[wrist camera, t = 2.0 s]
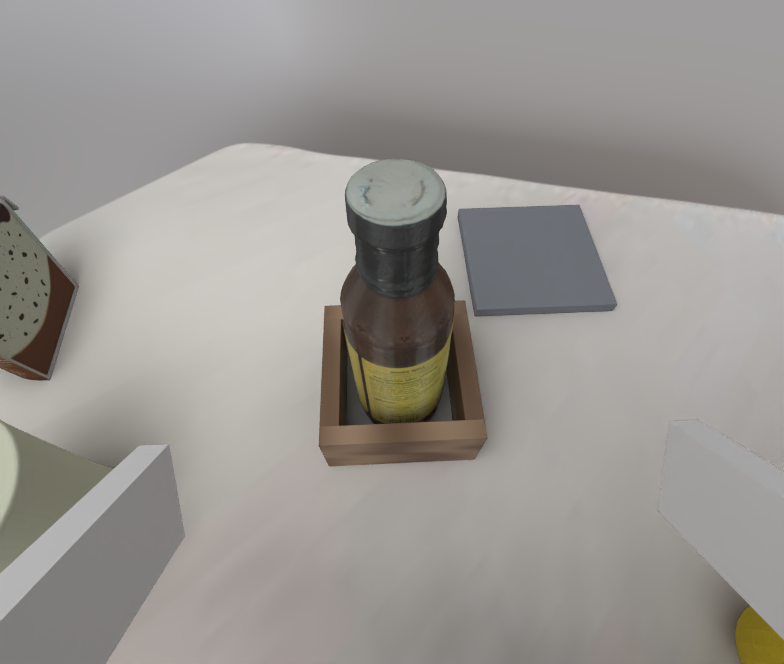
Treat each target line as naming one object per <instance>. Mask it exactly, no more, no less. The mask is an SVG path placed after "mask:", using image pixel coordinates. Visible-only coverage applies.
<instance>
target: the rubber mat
mask: <svg viewBox="0 0 784 664" xmlns="http://www.w3.org/2000/svg"><path fill="white" fill-rule="evenodd" d="M458 221H459V227H460V233H461V239H462V245H463V251H464V256H465V262H466V268H467V274H468V280H469V285H470V291H471V297H472V303H473V309H474V314H475V316H493V315H518V314H544V313H569V312H595V311H612V310H613V309H614V308H615V306H616V305H617V303H616V300H615V297H614V295H613V292H612V289H611V287H610V284H609V282H608V279H607V276H606V274H605V271H604V268H603V266H602V263H601V261H600V258H599V255H598V253H597V250H596V248H595V245H594V242H593V240H592V237H591V234H590V232H589V229H588V227H587V224H586V221H585V219H584V216H583V213H582V211H581V208H580V206H579V205H561V206H531V207H502V208H472V209H459V211H458Z"/></svg>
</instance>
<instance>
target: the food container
mask: <svg viewBox="0 0 784 664" xmlns="http://www.w3.org/2000/svg"><path fill="white" fill-rule="evenodd" d="M18 209H19V208H18V207H17V206H16V205H15V204H13V203H12V202H11V201H10V200H8V199H7V198H6V197H4V196H0V368H1V369H4V370H6V371H8V372H10V373H13V374H15V375H17V376H20V377H22V378H26V379H30V380H50V378H51V375H52V372H53V368H54V365H55V362H56V359H57V356H58V352H59V349H60V346H61V343H62V339H63V336H64V333H65V330H66V326H67V323H68V320H69V317H70V313H71V310H72V307H73V304H74V301H75V297H76V294H77V291H78V288H79V286H78V285H77V284H76V283H75V281H74V280H73V279H72V278H71V277H70V276H69V274H68V273H67V272H66V271H65V270H64V269H63V267H62V266H61V265H60V264H59V263H58V262H57V261H56V259H55V258H54V257H53V256H52V255H51V254H50V252H49V251H48V250H47V249H46V248H45V247H44V245H43V244H42V243H41V242H40V241H39V240H38V239H37V237H36V236H35V235H34V234H33V233H32V232H31V230H30V229H29V228H28V227H27V226H26V225H25V224H24V222H23V221H22V220H21V219H20V218H19V217H18V215H17V214H16V213H15V212H14V211H13V210H18Z"/></svg>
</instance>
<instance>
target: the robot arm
mask: <svg viewBox="0 0 784 664" xmlns="http://www.w3.org/2000/svg"><path fill="white" fill-rule="evenodd" d="M658 512H659V513H660V514H661V515H662V516H663V517H664V518H665V519H666V520H667V521H668V522H669V523H670V524H671V525H672V526H673V527H674V528H675V529H676V530H677V532H678V533H679V534H680V535H681V536H682V537H683V538H684V539H685V540H686V541H687V542H688V543H689V544H690V545H691V546H692V547H693V548H694V549H695V550H696V551H697V552H698V553H699V554H700V555H701V556H702V557H703V558H704V559H705V560H706V561H707V562H708V563H709V564H710V565H711V566H712V567H713V568H714V569H715V570H716V571H717V572H718V573H719V574H720V575H721V576H722V577H723V578H724V579H725V580H726V581H727V582H728V584H729V585H730V586H731V587H732V588H733V589H734V590H735V591H736V592H737V593H738V594H739V595H740V596H741V597H742V598H743V599H744V600H745V601H746V602H747V603H748V604H749V605H750V606H751V607H752V608H753V609H754V610H755V611H756V612H757V613H758V614H759V615H760V616H761V617H762V618H763V619H764V620H765V621H766V622H767V623H768V624H769V625H770V626H771V627H772V628H773V629H774V630H775V631H776V632H777V633H778V635H779V636H780V637H781V638H782V639H783V640H784V471H782V470H780V469H779V468H777V467H776V466H774V465H772V464H771V463H769V462H767V461H766V460H764V459H762V458H761V457H759V456H757V455H756V454H754V453H752V452H751V451H749V450H747V449H746V448H744V447H742V446H741V445H739V444H738V443H736V442H734V441H733V440H731V439H729V438H728V437H726V436H724V435H723V434H721V433H719V432H718V431H716V430H714V429H713V428H711V427H709V426H708V425H706V424H705V423H703V422H701V421H700V420H677V421H669V429H668V437H667V444H666V452H665V460H664V467H663V475H662V483H661V490H660V498H659V506H658ZM184 536H185V533H184V528H183V522H182V516H181V510H180V505H179V499H178V493H177V487H176V482H175V476H174V470H173V464H172V459H171V453H170V447H169V444H162V445H140V446H138V447H137V448H136V449H135V450H134V451H133V452H131V453H130V454H129V455H128V456H127V457H126V458H125V459H124V460H123V461H122V462H121V463H119V464H118V465H117V466H116V467H115V468H114V469H113V470H112V471H111V472H110V473H109V474H108V475H106V476H105V477H104V478H103V479H102V480H101V481H100V482H99V483H98V484H97V485H96V486H95V487H93V488H92V489H91V490H90V491H89V492H88V493H87V494H86V495H85V496H84V497H83V498H82V499H80V500H79V501H78V502H77V503H76V504H75V505H74V506H73V507H72V508H71V509H70V510H69V511H67V512H66V513H65V514H64V515H63V516H62V517H61V518H60V519H59V520H58V521H57V522H56V523H54V524H53V525H52V526H51V527H50V528H49V529H48V530H47V531H46V532H45V533H44V534H43V535H41V536H40V537H39V538H38V539H37V540H36V541H35V542H34V543H33V544H32V545H31V546H30V547H28V548H27V549H26V550H25V551H24V552H23V553H22V554H21V555H20V556H19V557H18V558H17V559H15V560H14V561H13V562H12V563H11V564H10V565H9V566H8V567H7V568H6V569H5V570H4V571H2V572H1V573H0V664H106V662H107V661H108V659H109V657H110V656H111V654H112V652H113V651H114V649H115V648H116V646H117V644H118V643H119V641H120V640H121V638H122V636H123V635H124V633H125V632H126V630H127V628H128V627H129V625H130V623H131V622H132V620H133V619H134V617H135V615H136V614H137V612H138V611H139V609H140V607H141V606H142V604H143V603H144V601H145V599H146V598H147V596H148V594H149V593H150V591H151V590H152V588H153V586H154V585H155V583H156V582H157V580H158V578H159V577H160V575H161V574H162V572H163V570H164V569H165V567H166V565H167V564H168V562H169V561H170V559H171V557H172V556H173V554H174V553H175V551H176V549H177V548H178V546H179V545H180V543H181V541H182V540H183V538H184Z"/></svg>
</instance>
